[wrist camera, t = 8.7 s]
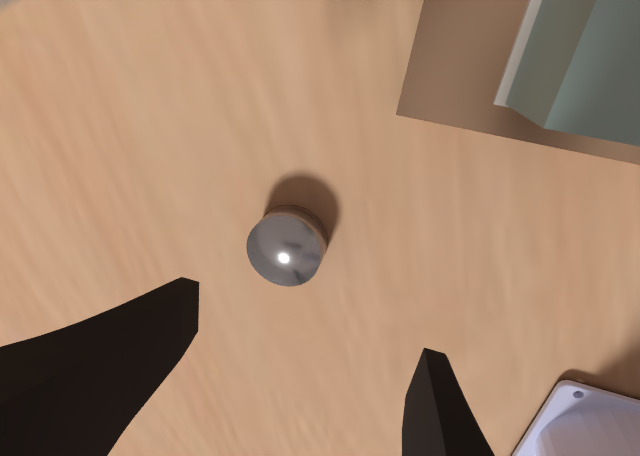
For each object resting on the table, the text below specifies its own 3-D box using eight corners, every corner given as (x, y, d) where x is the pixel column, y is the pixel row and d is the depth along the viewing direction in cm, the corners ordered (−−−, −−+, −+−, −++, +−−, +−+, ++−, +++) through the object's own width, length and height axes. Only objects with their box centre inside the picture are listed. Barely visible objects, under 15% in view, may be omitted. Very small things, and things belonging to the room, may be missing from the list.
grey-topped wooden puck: (333, 213, 20) (325, 229, 19) (322, 275, 22) (313, 294, 20) (263, 196, 21) (249, 209, 19) (258, 258, 23) (244, 275, 21)
